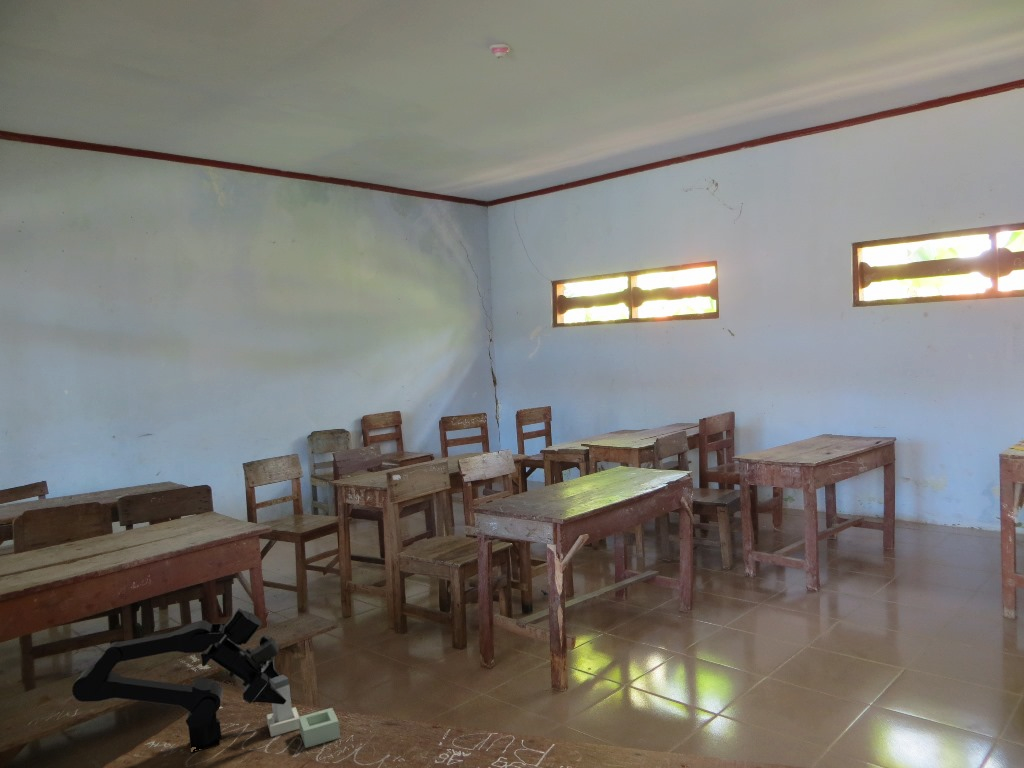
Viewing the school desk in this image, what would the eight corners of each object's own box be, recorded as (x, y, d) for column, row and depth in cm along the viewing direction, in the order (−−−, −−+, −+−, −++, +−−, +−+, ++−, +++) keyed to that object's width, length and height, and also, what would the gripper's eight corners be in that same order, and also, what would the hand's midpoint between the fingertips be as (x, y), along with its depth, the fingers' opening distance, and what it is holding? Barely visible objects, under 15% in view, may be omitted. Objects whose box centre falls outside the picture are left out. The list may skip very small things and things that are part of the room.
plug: (279, 731, 179) (274, 683, 179) (274, 727, 182) (269, 679, 182) (293, 726, 182) (288, 678, 181) (287, 721, 184) (282, 674, 184)
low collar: (270, 736, 177) (269, 726, 177) (267, 724, 184) (266, 714, 184) (300, 728, 180) (299, 718, 180) (296, 716, 186) (295, 707, 186)
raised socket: (305, 748, 170) (303, 731, 170) (300, 733, 178) (298, 717, 177) (340, 737, 174) (338, 721, 174) (333, 723, 181) (332, 707, 181)
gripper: (252, 644, 171) (306, 682, 174) (259, 619, 189) (308, 653, 192) (220, 685, 169) (275, 722, 172) (229, 655, 187) (279, 689, 190)
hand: (285, 694), depth 182 cm, fingers open, 9 cm apart
